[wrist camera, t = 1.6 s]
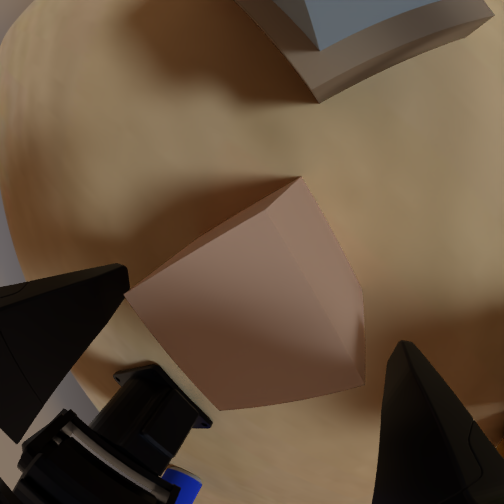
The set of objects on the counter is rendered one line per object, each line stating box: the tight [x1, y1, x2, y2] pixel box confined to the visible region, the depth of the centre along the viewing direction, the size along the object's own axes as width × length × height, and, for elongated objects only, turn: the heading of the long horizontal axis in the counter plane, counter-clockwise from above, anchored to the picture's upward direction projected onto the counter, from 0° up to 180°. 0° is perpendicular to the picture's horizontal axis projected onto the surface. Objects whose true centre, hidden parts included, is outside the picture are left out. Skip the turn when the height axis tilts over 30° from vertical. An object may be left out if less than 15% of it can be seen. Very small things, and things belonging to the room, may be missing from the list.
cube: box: [124, 176, 365, 411], centre depth 9 cm, size 5×5×5 cm
